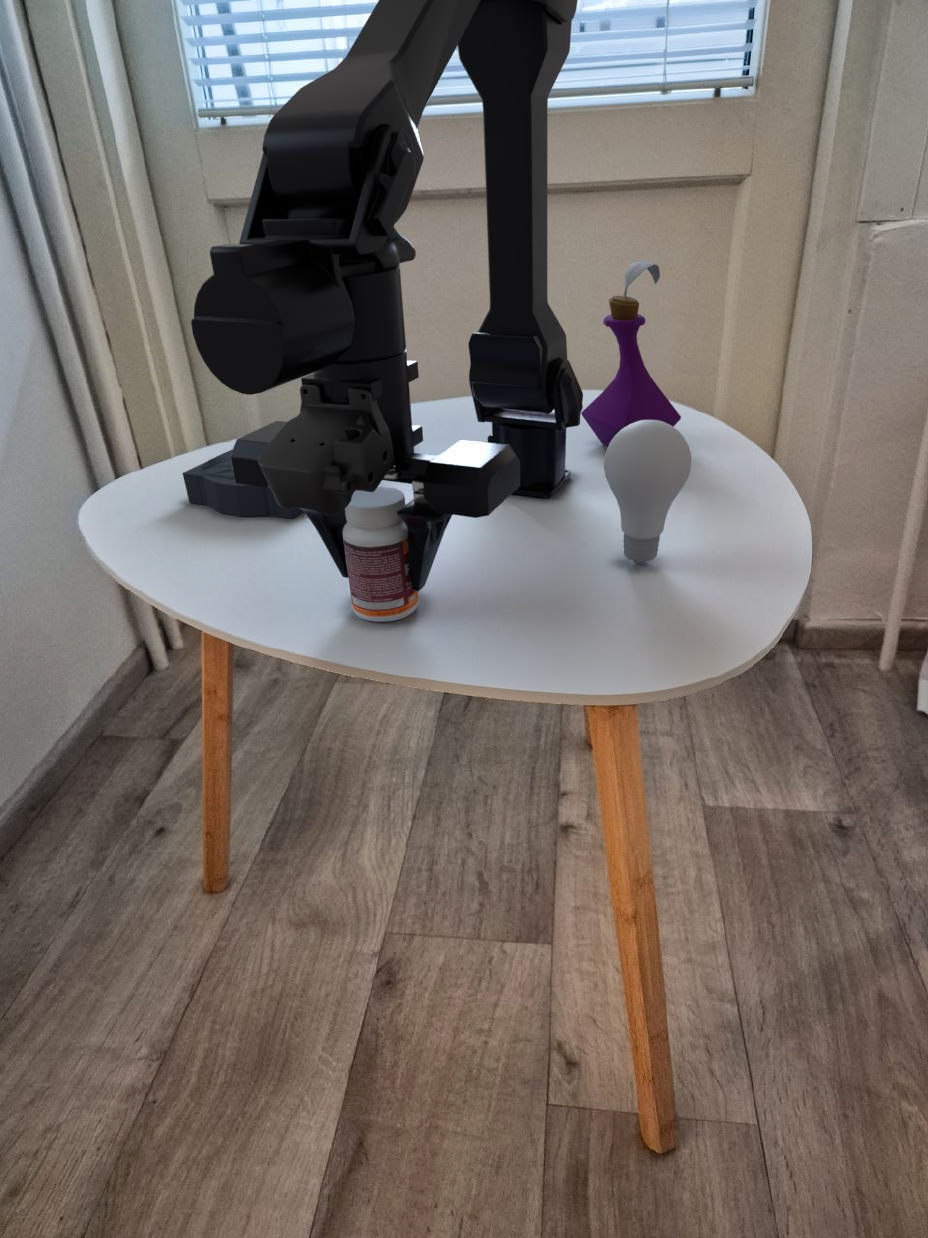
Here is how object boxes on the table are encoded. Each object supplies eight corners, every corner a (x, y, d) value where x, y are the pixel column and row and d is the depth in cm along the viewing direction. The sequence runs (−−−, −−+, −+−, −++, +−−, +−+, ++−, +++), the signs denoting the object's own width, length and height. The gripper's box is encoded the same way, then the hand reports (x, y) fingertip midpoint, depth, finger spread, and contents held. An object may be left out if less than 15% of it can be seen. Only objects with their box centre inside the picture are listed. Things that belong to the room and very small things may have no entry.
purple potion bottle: (621, 461, 80) (633, 269, 71) (579, 442, 86) (584, 262, 77) (679, 447, 83) (697, 261, 74) (634, 430, 89) (646, 255, 80)
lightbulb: (664, 588, 57) (678, 439, 52) (586, 570, 60) (591, 427, 55) (691, 555, 62) (707, 414, 56) (617, 540, 65) (625, 405, 59)
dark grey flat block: (357, 477, 80) (354, 448, 78) (285, 524, 70) (280, 492, 69) (260, 465, 84) (255, 437, 83) (180, 506, 75) (173, 476, 73)
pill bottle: (424, 618, 55) (415, 505, 51) (355, 628, 54) (341, 514, 50) (413, 587, 59) (404, 480, 55) (349, 596, 58) (335, 488, 54)
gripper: (144, 374, 45) (202, 612, 53) (437, 398, 38) (453, 669, 46) (265, 335, 54) (299, 545, 62) (522, 349, 46) (523, 584, 54)
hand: (383, 581), depth 56 cm, fingers open, 5 cm apart
